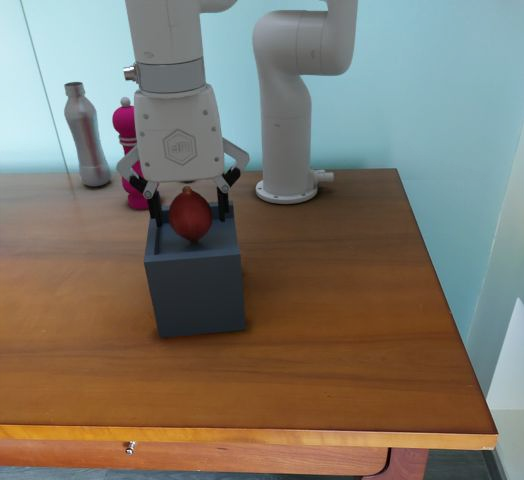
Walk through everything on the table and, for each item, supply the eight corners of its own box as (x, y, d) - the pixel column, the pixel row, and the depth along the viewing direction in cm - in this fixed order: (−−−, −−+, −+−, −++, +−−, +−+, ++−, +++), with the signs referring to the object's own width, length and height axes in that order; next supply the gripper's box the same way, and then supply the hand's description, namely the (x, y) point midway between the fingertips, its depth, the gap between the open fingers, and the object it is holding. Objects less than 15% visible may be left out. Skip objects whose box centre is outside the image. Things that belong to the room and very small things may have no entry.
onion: (174, 233, 75) (165, 178, 70) (214, 230, 75) (208, 175, 70) (172, 253, 70) (162, 196, 65) (215, 250, 70) (209, 193, 65)
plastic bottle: (86, 192, 112) (60, 90, 99) (79, 181, 116) (53, 83, 104) (116, 185, 114) (94, 85, 101) (108, 175, 119) (86, 78, 106)
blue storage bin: (238, 270, 85) (232, 200, 78) (245, 330, 73) (240, 253, 65) (163, 276, 85) (151, 206, 77) (159, 338, 72) (143, 262, 65)
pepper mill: (166, 195, 109) (149, 91, 96) (157, 211, 103) (138, 102, 91) (132, 195, 110) (111, 91, 97) (122, 210, 104) (98, 103, 91)
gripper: (88, 89, 56) (123, 239, 67) (251, 79, 57) (258, 227, 68) (98, 73, 62) (128, 213, 73) (246, 63, 63) (253, 203, 74)
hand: (191, 219), depth 70 cm, fingers open, 7 cm apart
